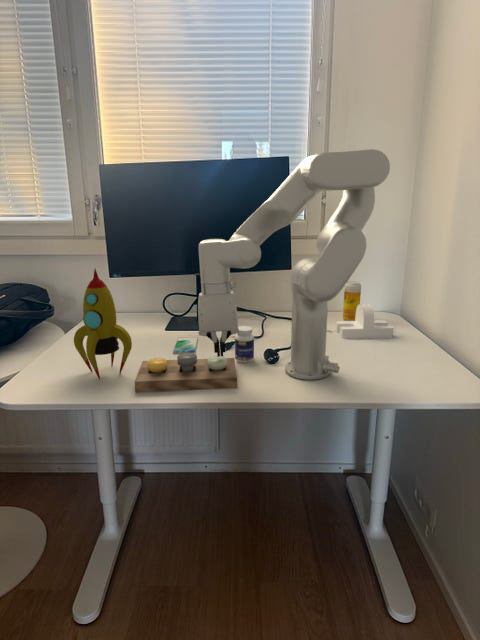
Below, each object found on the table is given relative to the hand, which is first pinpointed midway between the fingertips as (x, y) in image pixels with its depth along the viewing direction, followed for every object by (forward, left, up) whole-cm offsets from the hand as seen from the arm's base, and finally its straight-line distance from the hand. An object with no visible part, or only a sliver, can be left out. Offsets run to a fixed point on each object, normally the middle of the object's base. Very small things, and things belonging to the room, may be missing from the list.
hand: (220, 354), depth 118 cm
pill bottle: (+1, -15, -7) cm, 16 cm away
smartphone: (+24, -16, -7) cm, 30 cm away
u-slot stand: (-23, -57, -7) cm, 62 cm away
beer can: (-14, -71, -7) cm, 72 cm away
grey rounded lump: (+7, +5, -5) cm, 10 cm away
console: (+7, +5, -7) cm, 11 cm away
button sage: (+1, +1, -6) cm, 6 cm away
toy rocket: (+30, +13, -7) cm, 34 cm away
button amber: (+14, +10, -6) cm, 18 cm away
